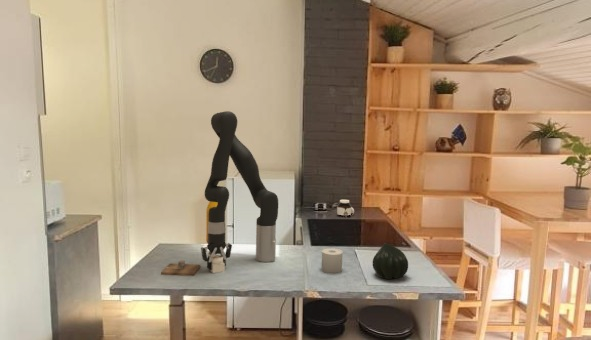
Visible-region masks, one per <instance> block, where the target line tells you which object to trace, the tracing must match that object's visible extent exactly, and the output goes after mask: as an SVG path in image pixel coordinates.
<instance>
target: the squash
mask: <svg viewBox="0 0 591 340" xmlns="http://www.w3.org/2000/svg"><path fill="white" fill-rule="evenodd" d="M372 268H373V270H374V271H375V273H376V274H377V275H378V276H379V277H380V278H382V279H386V280H392V279H393V278H394V279H398V278H401V277H403V276H405V275H406V274H407V272H408V269H409V261H408V258H407V256H406V254H405V253H404V252H403V251H402V250H401V249H399V248H398V247H395V246H394V245H391V244H389V243H383V244H382V245H381V247H380V248H379V249H378V250H377V252H376V253H375V255H374V257H373V258H372Z"/></svg>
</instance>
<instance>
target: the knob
mask: <svg viewBox="0 0 591 340" xmlns="http://www.w3.org/2000/svg"><path fill="white" fill-rule="evenodd" d="M211 262H212V270H209V271H210V272H211V273H212V274H216V273H221V272H225V271H226V266H225V263H224V262H223V256H221V255H220V254H216V255H214V257H213V258H212V260H211Z"/></svg>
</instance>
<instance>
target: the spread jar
mask: <svg viewBox="0 0 591 340" xmlns="http://www.w3.org/2000/svg"><path fill="white" fill-rule="evenodd" d="M351 213H353V214H354V213H355V209H354V207H352V205H351V203H350V199H340V200H339V203H338V204H337V207H336V214H337V215H350V216H352V215H351Z"/></svg>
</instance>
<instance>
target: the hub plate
mask: <svg viewBox="0 0 591 340" xmlns="http://www.w3.org/2000/svg"><path fill="white" fill-rule="evenodd" d="M185 262H186V261H185V260H179V261H178V262H177V263H169V264H168V265H167V266H166V267H164V269H163V270H162V271H161V272H160V275H163V276H165V275H166V276H167V275H168V276H190V277H191V276H195V275H196V274H197V272H198V271H199V269H200V268H201V266H202V265H201V264H194V263H193V264H192V263H191V264H190V263H189V264H188V263H185Z"/></svg>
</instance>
